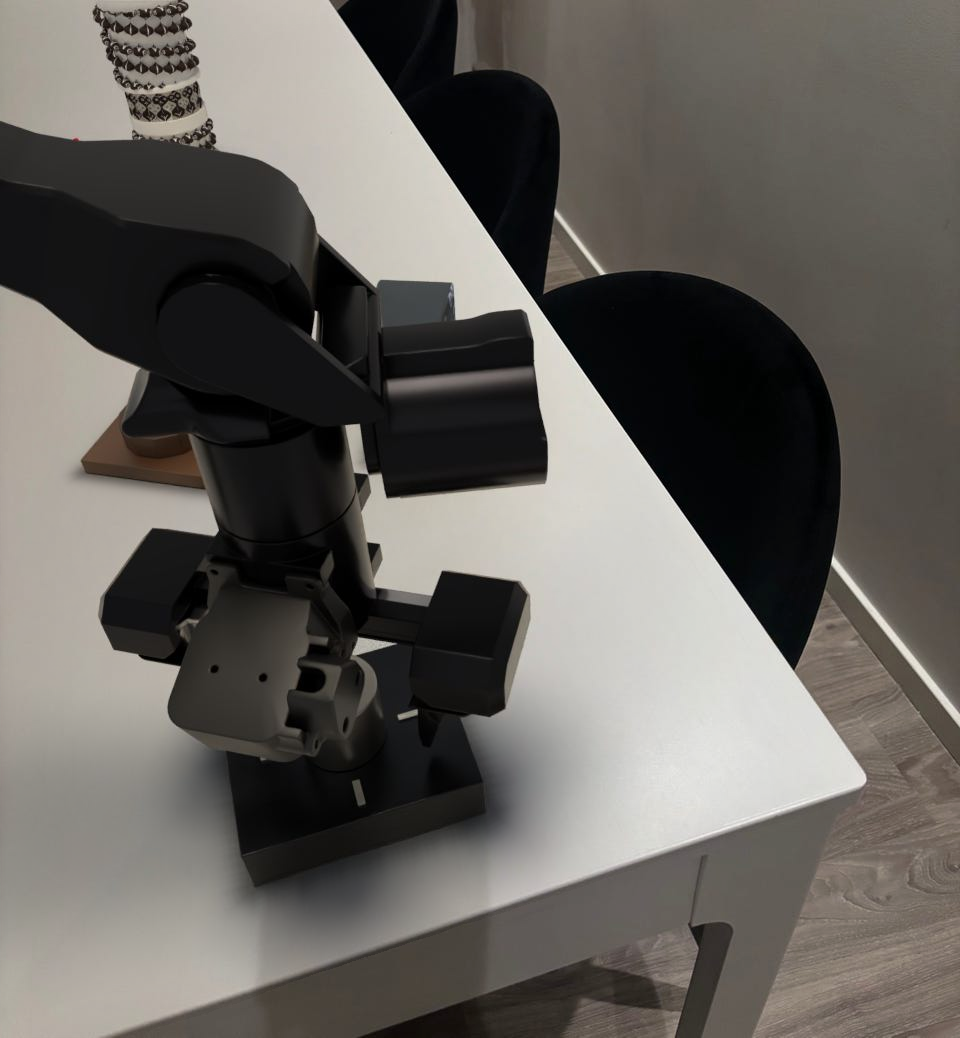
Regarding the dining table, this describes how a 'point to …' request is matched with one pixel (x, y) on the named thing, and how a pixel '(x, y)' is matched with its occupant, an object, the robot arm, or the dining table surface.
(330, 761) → the knob
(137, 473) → the button block
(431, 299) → the box
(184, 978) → the dining table surface
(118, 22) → the decorative candle
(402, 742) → the panel
